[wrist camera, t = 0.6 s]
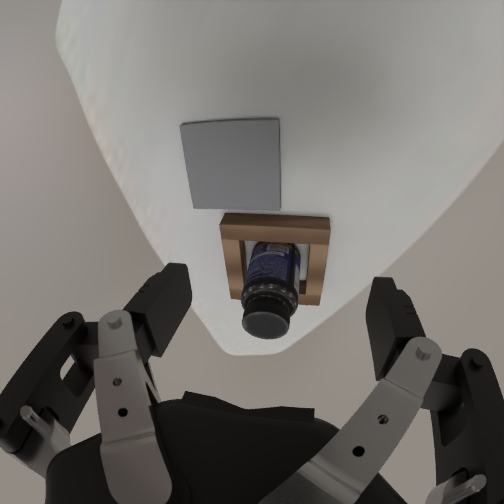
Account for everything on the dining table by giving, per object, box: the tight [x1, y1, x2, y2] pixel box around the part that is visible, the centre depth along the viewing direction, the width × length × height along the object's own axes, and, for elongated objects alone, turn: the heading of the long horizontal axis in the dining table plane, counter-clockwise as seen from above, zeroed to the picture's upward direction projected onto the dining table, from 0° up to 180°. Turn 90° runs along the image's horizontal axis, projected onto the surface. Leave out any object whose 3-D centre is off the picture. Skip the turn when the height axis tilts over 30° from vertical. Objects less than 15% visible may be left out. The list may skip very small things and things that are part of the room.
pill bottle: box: [241, 241, 300, 339], centre depth 31 cm, size 6×6×11 cm
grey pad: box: [180, 119, 281, 211], centre depth 28 cm, size 10×10×1 cm
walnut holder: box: [219, 213, 330, 306], centre depth 34 cm, size 12×12×2 cm
